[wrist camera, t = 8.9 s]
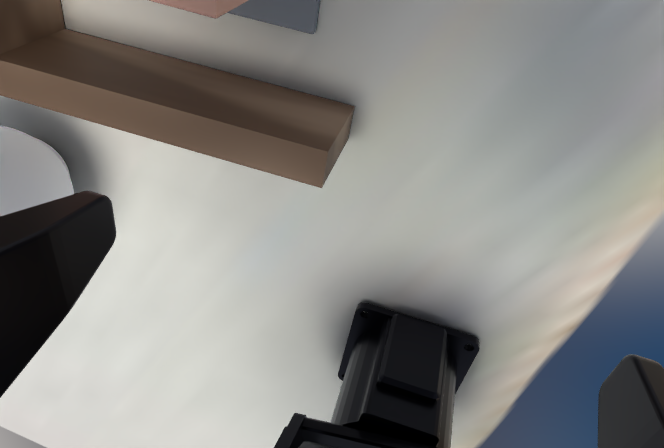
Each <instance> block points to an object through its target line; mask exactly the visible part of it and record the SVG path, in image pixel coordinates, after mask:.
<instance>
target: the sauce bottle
mask: <svg viewBox="0 0 664 448" xmlns="http://www.w3.org/2000/svg"><path fill="white" fill-rule="evenodd" d="M73 194H74V189H73V185H72V181H71V179H70V174H69V170H68V167H67V165H66V163H65V161H64V160H63V158H62V157H61V156H60V155H59V153H58V152H57V151H55V150H54V149H53V148H52V147H51V146H49V145H48V144H46V143H45V142H43V141H41V140H39V139H37V138H34V137H32V136H30V135H28V134H26V133H24V132H22V131H19V130H17V129H14V128H10V127H6V126H0V216H3V215H6V214H10V213H13V212H16V211H20V210H23V209H26V208H30V207H33V206H36V205H40V204H43V203H46V202H50V201H53V200H56V199H60V198H63V197H66V196H70V195H73Z"/></svg>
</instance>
